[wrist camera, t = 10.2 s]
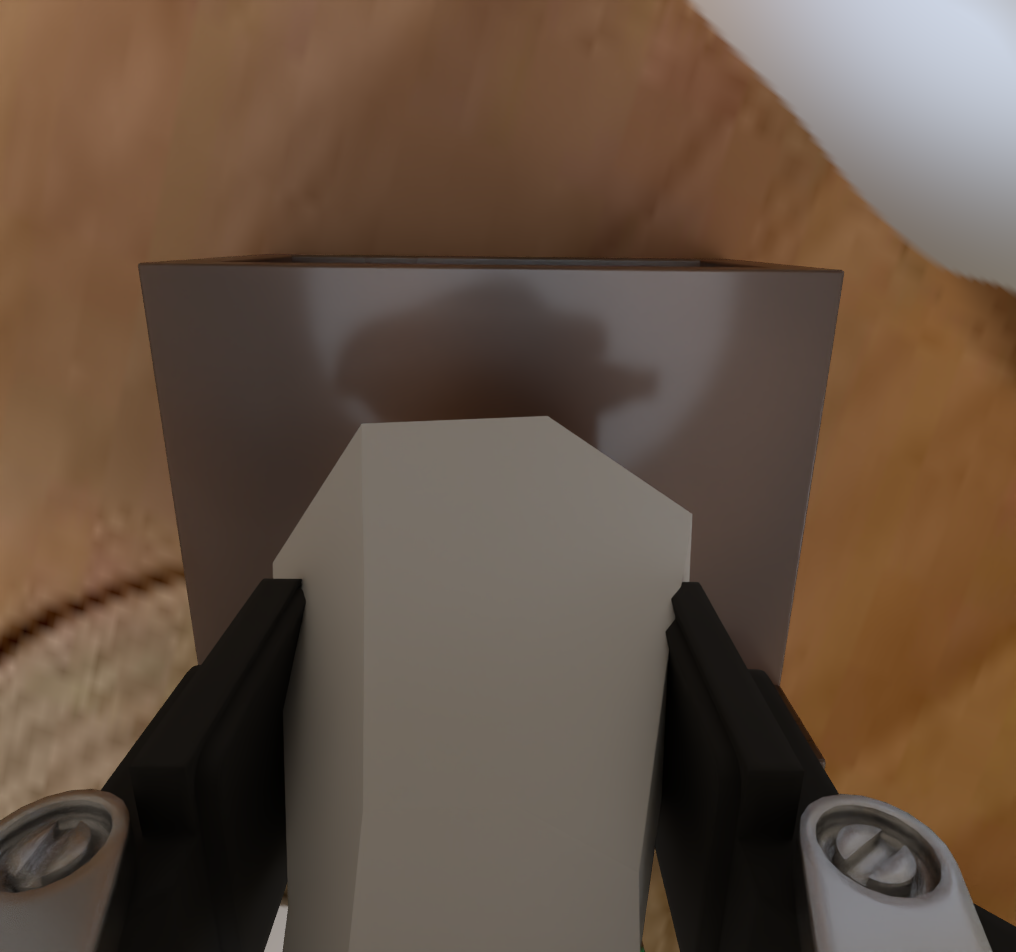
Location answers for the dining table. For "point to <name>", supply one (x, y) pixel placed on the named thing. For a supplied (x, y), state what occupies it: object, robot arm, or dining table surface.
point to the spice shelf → (496, 396)
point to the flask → (477, 692)
